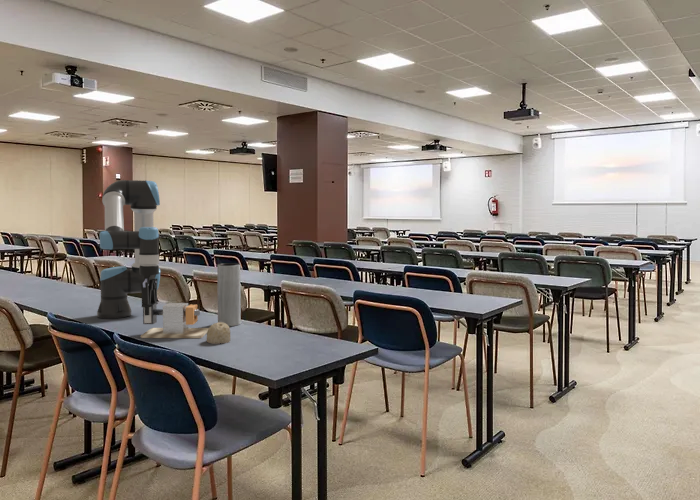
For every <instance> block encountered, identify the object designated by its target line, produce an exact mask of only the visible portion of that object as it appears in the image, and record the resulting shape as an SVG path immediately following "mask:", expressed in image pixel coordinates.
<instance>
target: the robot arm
mask: <svg viewBox="0 0 700 500" xmlns="http://www.w3.org/2000/svg"><path fill="white" fill-rule="evenodd" d="M101 197H102V200H101V201H102V202H101V203H102V204H103V206H104V230H103V231H100V232H99V248H100V249H101V250H110V251H112V250H134V262H133V263H132V265H131V268H129V269H128V267H127V266H123V265H122V266H121V265H120V266H114V267H109V268H108V267H107V268H104V269H102V270H101V271H100V277H99V281H100V302H99V305H98V309H97V311H96V317H97V318H99V319H108V320H110V319H122V318H127V317H130V316H132V309H131V306H130V303H129V300H128V294H138V293H139V294H141V308H143V307H144V323H152V317H151V307H150V304H151V303H156V305H158V303H159V302H158V289H159V287H160V280H161V268H160V267H159V264H160V257H159V256H160V254H159V247H160V246H159V243H160V242H159V237H160V234H159V229H158V227H156V226H154V212H155V211H157V207H159V206H160V204H161V203H160V195H159V188H158V184H157V182H156V181H152V180H146V179H145V180H137V179H136V180H134V179H133V180H131V179H130V180H128V179H127V180H126V179H120V180H117V181H114V182H112V183H111V184H110V185H108V186H107V187H106V188H105V190H104V191H103V193H102V196H101ZM126 205H127V206H130V209H131V210H132V212H133V213H134V214H133V216H134V217H133V218H134V220H133V221H134V226H133V227H134V230H130V231H129V230H125V227H124V226H125V224H124V223H125V221H124V206H126Z"/></svg>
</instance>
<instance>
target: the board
mask: <svg viewBox="0 0 700 500" xmlns="http://www.w3.org/2000/svg"><path fill="white" fill-rule="evenodd" d="M209 328H210V327H188V330H187V331H186V332H185V333H184V334H163V327H152V328H150V329H148V330H146V331H144V333H142V334H140V338H142V339H202V338H203V337H204V336H205V335H207V332H208V329H209Z"/></svg>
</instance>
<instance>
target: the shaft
mask: <svg viewBox="0 0 700 500" xmlns="http://www.w3.org/2000/svg"><path fill="white" fill-rule="evenodd" d="M150 307H151V317H152V323H144V307H142V322H143V323H142V324H143V325H155V324H156V323H157V320H158V319H157V317H158V316H163V308H162V309H159V308H157V307H158V306H157V304H156V303H151V304H150ZM200 314H201V311H200V309H197V310H194V315H198V316H200ZM185 315H186V310H185Z"/></svg>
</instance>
